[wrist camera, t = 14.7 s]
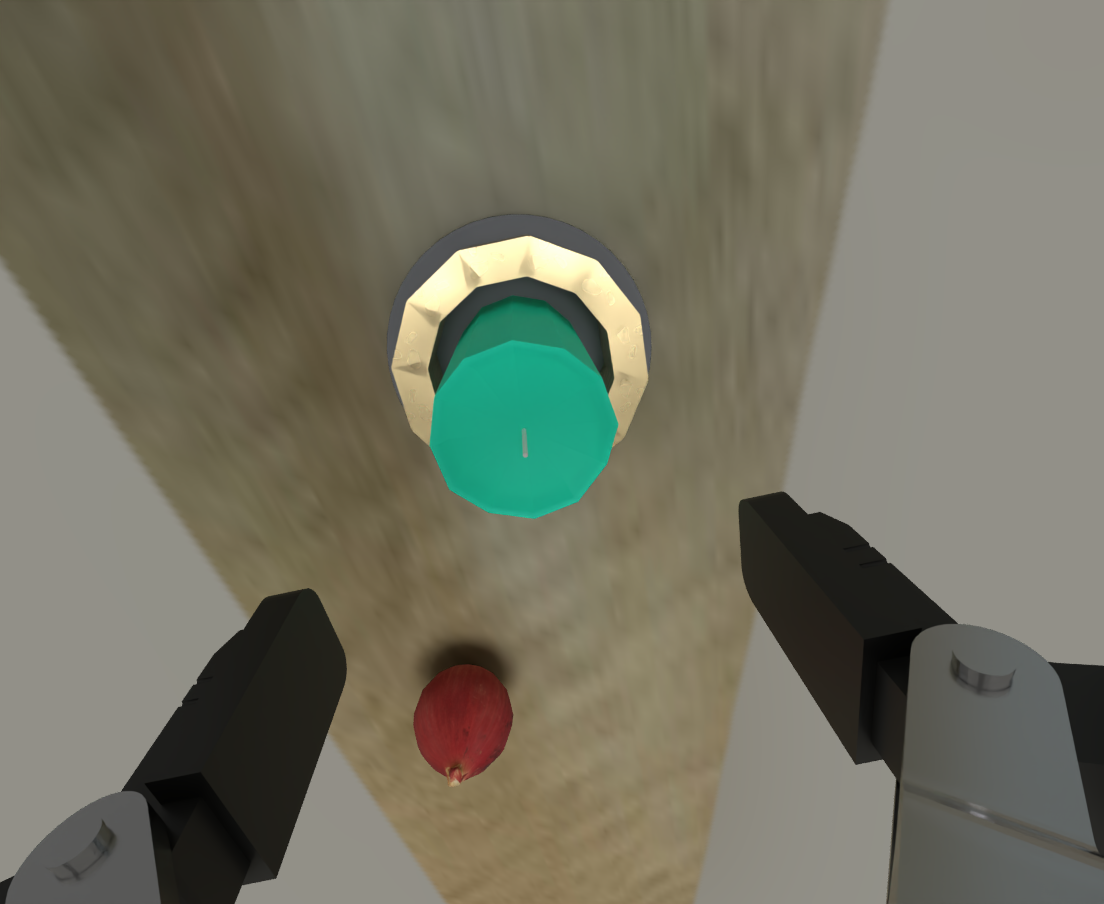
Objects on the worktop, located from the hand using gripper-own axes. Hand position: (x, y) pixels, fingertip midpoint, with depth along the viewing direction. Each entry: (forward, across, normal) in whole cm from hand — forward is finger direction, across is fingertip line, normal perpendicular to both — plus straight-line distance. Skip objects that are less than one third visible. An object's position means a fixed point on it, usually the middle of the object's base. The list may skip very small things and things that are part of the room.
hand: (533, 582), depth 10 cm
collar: (+19, 0, 0) cm, 19 cm away
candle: (+18, 0, 0) cm, 18 cm away
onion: (+19, +8, +20) cm, 29 cm away
